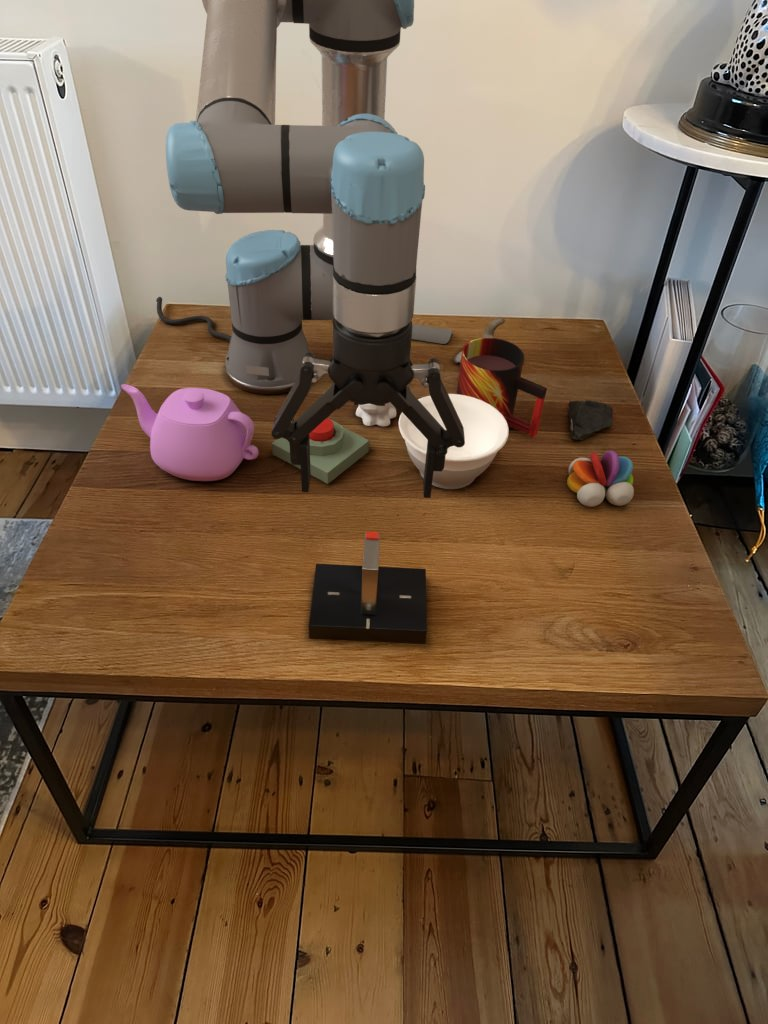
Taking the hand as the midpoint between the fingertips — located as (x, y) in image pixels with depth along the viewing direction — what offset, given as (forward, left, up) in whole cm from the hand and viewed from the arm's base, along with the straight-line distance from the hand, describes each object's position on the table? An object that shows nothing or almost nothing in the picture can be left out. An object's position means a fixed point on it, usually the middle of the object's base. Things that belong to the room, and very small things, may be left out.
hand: (366, 487), depth 86 cm
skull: (-15, +57, -17) cm, 61 cm away
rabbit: (-21, +31, -17) cm, 41 cm away
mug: (-5, +43, -17) cm, 46 cm away
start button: (-22, +18, -14) cm, 31 cm away
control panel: (+3, -2, -17) cm, 17 cm away
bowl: (-4, +27, -17) cm, 32 cm away
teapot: (-35, +5, -17) cm, 40 cm away
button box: (-22, +18, -17) cm, 33 cm away
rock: (+8, +51, -17) cm, 54 cm away
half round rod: (-34, +55, -17) cm, 67 cm away
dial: (+3, -2, -15) cm, 15 cm away
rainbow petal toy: (+16, +37, -17) cm, 44 cm away
